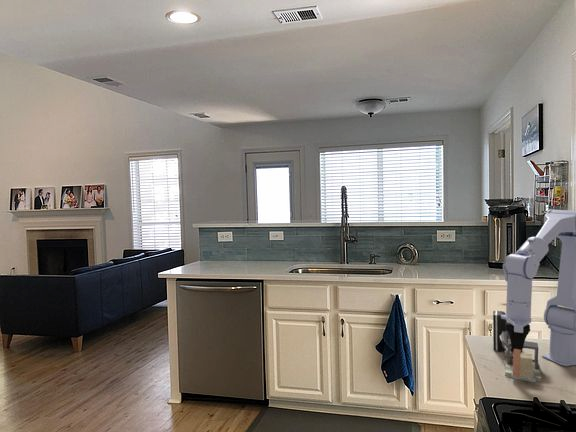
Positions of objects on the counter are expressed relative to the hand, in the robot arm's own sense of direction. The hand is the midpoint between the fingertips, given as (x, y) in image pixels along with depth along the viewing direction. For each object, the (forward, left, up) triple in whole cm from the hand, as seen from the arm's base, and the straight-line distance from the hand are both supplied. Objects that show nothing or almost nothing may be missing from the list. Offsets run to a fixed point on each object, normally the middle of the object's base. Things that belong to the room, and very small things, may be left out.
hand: (516, 351), depth 118 cm
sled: (-2, 0, -6) cm, 7 cm away
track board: (-7, -5, -7) cm, 11 cm away
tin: (-17, -21, -8) cm, 29 cm away
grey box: (-8, -6, -6) cm, 12 cm away
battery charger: (-13, -20, -8) cm, 25 cm away
